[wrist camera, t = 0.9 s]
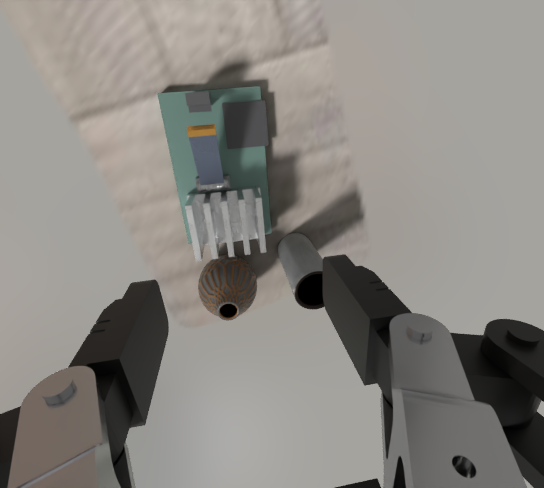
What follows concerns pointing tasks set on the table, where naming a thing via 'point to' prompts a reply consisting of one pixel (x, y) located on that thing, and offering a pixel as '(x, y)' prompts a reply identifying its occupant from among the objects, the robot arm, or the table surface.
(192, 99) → the block
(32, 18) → the table surface
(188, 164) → the board
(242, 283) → the vase
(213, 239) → the heatsink
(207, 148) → the blue-grey flat piece
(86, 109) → the table surface
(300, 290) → the planter
